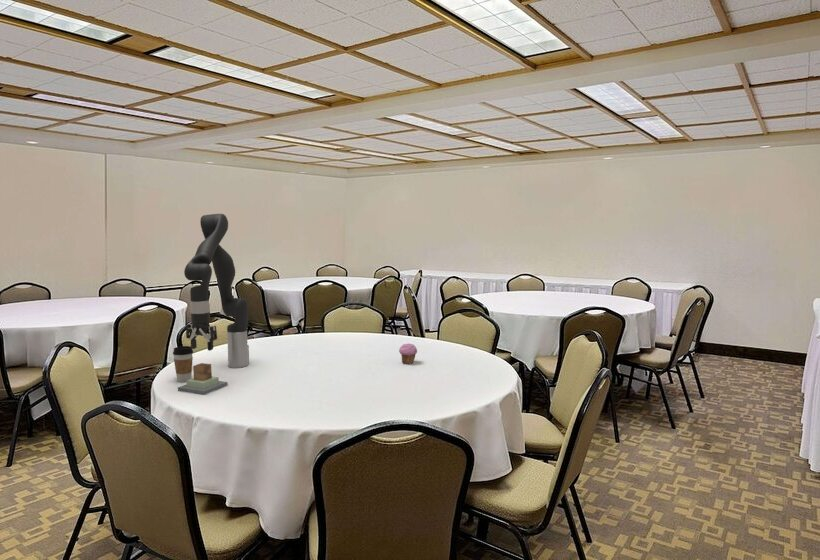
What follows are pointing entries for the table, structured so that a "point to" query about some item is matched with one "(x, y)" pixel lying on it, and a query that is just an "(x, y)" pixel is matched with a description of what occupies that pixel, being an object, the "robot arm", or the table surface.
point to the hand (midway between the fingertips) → (202, 349)
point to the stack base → (202, 391)
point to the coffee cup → (183, 363)
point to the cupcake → (408, 353)
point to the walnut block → (202, 372)
